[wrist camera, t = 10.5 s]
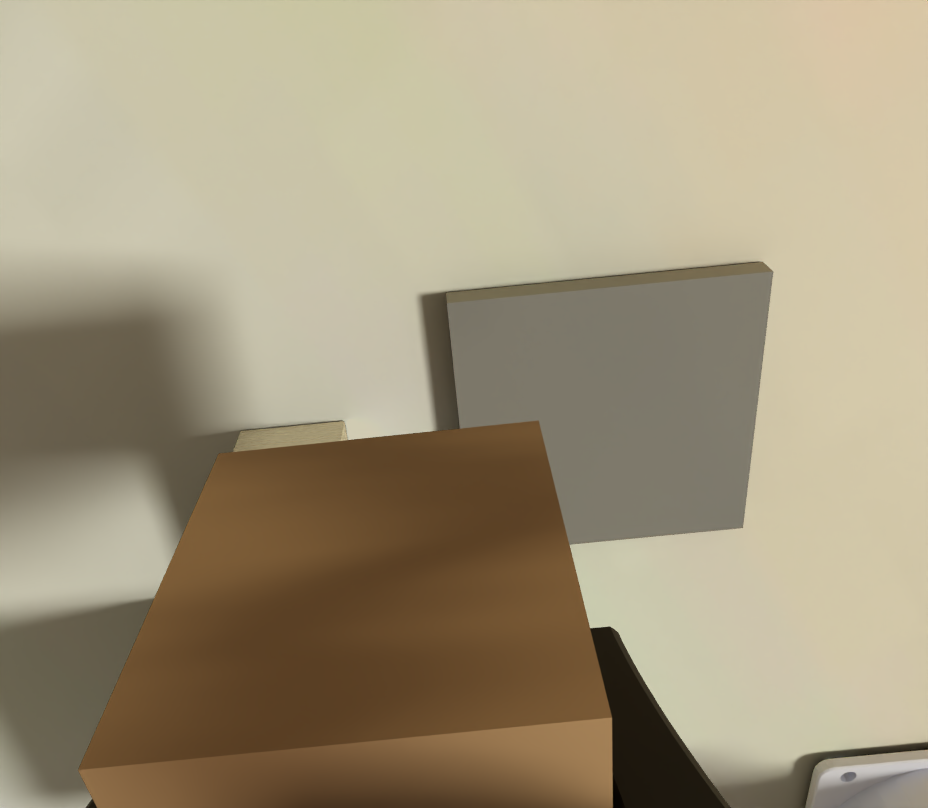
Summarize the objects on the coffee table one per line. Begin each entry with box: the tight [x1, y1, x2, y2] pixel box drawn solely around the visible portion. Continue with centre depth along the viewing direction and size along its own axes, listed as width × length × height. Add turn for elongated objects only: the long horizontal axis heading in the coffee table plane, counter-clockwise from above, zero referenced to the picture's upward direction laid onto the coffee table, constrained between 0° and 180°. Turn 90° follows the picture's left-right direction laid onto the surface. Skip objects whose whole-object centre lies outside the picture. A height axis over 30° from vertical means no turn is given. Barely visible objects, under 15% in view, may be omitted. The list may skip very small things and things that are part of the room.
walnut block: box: [78, 420, 613, 808], centre depth 10 cm, size 4×4×5 cm
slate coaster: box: [446, 262, 773, 545], centre depth 19 cm, size 7×7×1 cm
